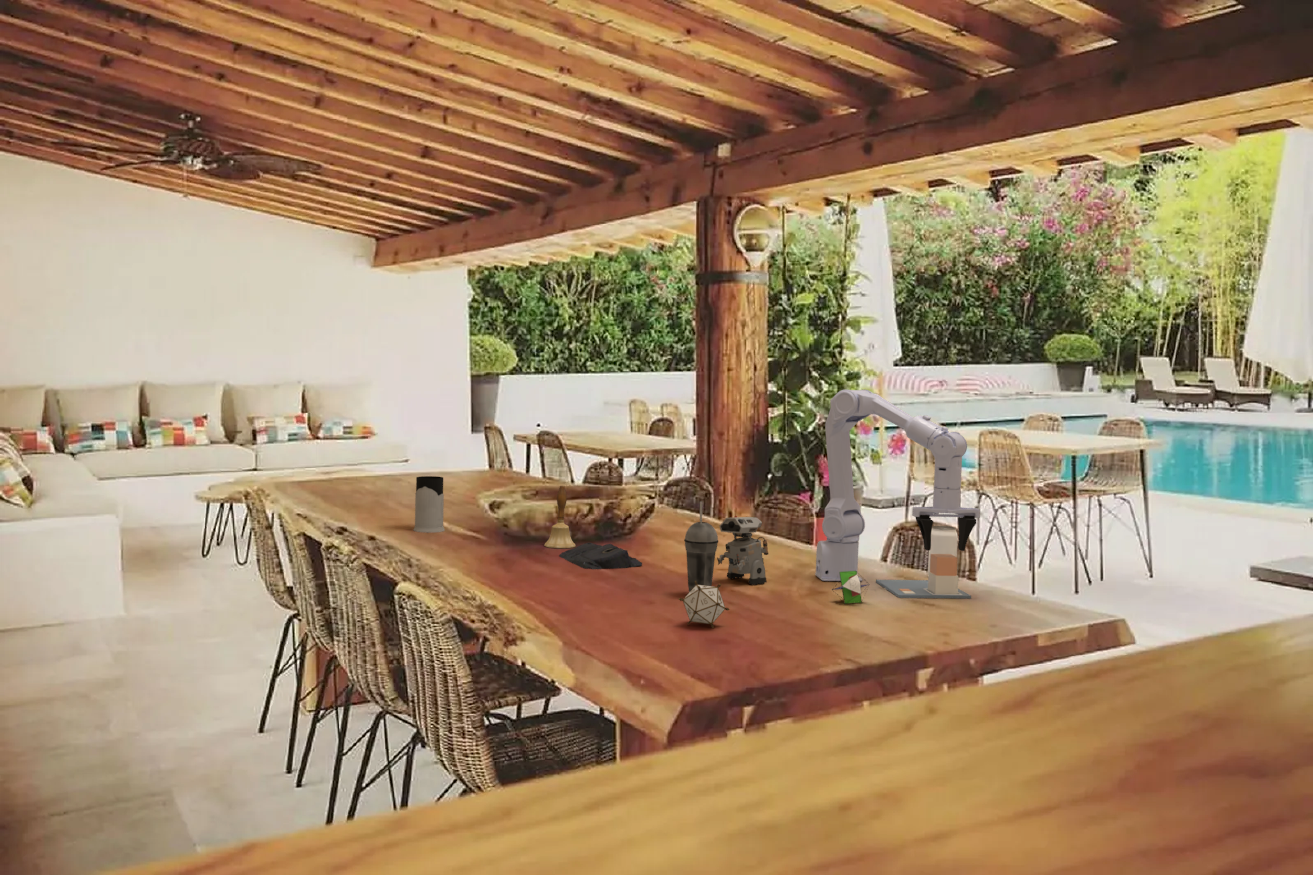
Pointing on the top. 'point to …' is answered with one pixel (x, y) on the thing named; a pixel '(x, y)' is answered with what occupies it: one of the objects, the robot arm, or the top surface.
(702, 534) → the beverage cup
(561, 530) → the hand bell
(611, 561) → the dark slate chunk
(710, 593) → the game die
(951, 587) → the base block
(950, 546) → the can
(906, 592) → the board
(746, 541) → the figurine
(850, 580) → the geometric puzzle
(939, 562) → the terracotta block
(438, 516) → the glass holder
